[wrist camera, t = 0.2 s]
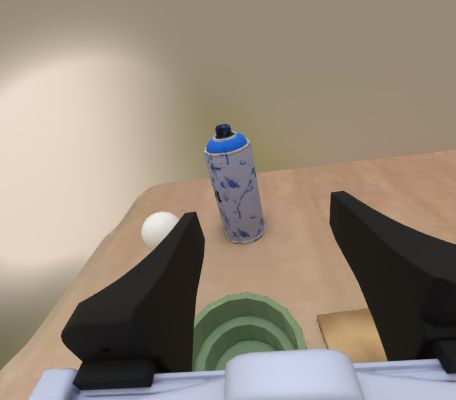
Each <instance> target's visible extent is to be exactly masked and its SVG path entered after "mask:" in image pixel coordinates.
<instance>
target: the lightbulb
mask: <svg viewBox="0 0 456 400" xmlns="http://www.w3.org/2000/svg"><path fill="white" fill-rule="evenodd" d="M179 220H180V219H179V218H178V217H177V216H175V215H174V214H172V213H169V212H157V213H154V214H152V215H151V216H149V217H148V218H147V219H146V220H145V222H144V223H143V225H142V229H141V238H142V241H143V243H144V245H145V246H146V247H147V248H148V249H149V250H151V251H153V250H154V249H155V248H156V247H157V246H158V245H159V243H160V242H161V241H162V240H163V239H164V238H165V237H166V236H167V235H168V233H169V232H170V231H171V230H172V229H173V227H174V226H175V225H176V224H177V222H178V221H179Z"/></svg>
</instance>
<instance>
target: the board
mask: <svg viewBox="0 0 456 400" xmlns="http://www.w3.org/2000/svg"><path fill="white" fill-rule="evenodd" d="M317 320H318V323H319V325H320V328H321V331H322V334H323V337H324V340H325V343H326V346H327V349H335V350H337V351H340V352H342V353H344V354H346V355H348V356H349V357H350V359H351V361H352V363H368V362H387V361H388V360H387V357H386V354H385V351H384V348H383V345H382V343H381V340H380V337H379V334H378V332H377V329H376V326H375V323H374V320H373V318H372V315H371V313H370V310H369V309H361V310H353V311H345V312H337V313H330V314H322V315H317Z"/></svg>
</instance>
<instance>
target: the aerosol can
mask: <svg viewBox="0 0 456 400" xmlns="http://www.w3.org/2000/svg"><path fill="white" fill-rule="evenodd" d="M215 131H216V135H215V136H214V137H213V138H212V139H211V140H210V141H209V142H208V145H207V147H206V148H205V151H204V153H205V160H206V164H207V167H208V170H209V174H210V178H211V182H212V185H213V189H214V193H215V196H216V200H217V204H218V207H219V211H220V215H221V218H222V222H223V226H224V229H225V236H226V238H227V239H228V240H229V241H230V242H232V243H236V244H248V243H252V242H254V241H257V240H258V239H259V238H261V237H262V236H263V234H264V233H265V229H266V227H265V223H264V221H263V215H262V209H261V202H260V196H259V190H258V184H257V178H256V172H255V166H254V160H253V153H252V147H251V144H250V142H249V139H247V138H245V137H244V136H243V135H242V134H240V133H236V132H234V131H231V128H230V126H229V125H227V124H221V125H218V126H217V127H216V130H215Z"/></svg>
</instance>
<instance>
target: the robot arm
mask: <svg viewBox="0 0 456 400" xmlns="http://www.w3.org/2000/svg"><path fill="white" fill-rule="evenodd" d="M330 226H331V229H332V232H333V234H334V237H335V240H336V242H337V243H338V245H339V247H340V249H341V251H342V253H343V255H344V256H345V258H346V260H347V262H348V264H349V266H350V267H351V269H352V271H353V273H354V275H355V277H356V279H357V281H358V283H359V285H360V288H361V290H362V293H363V295H364V297H365V300H366V302H367V305H368V308H369V310H370V313H371V315H372V318H373V320H374V323H375V326H376V329H377V332H378V334H379V337H380V340H381V343H382V345H383V348H384V351H385V354H386V357H387V360H388V361H387V362H368V363H352V361H351V359H350V357H349V356H348V355H346V354H344V353H342V352H340V351H337V350H335V349H321V348H319V349H303V350H287V351H271V352H254V353H247V354H242V355H237V356H236V357H234V358H233V359H231V360H229V361H228V362H227V363H226V370H217V371H198V372H192V361H193V335H194V319H195V306H196V296H197V289H198V284H199V279H200V274H201V269H202V263H203V258H204V246H205V238H204V235H203V232H202V229H201V226H200V223H199V220H198V217H197V214H196V212H189V213H185V214H184V215H183V216H182V218H181V219H180V220H179V221H178V222H177V224H176V225H175V226H174V227H173V229H172V230H171V231H170V232H169V233H168V235H167V236H166V237H165V238H164V239H163V240H162V241H161V242H160V243H159V245H158V246H157V247H156V248H155V249H154V250H153V251H152V252H151V253H150V254H149V255H148V256H147V257H146V258H144V259H143V260H142V261H141V262H140V263H139V264H138V265H136V266H135V267H134V268H132V269H131V270H130V271H129V272H127V273H126V274H125V275H124V276H122V277H121V278H119V279H118V280H117V281H115V282H114V283H112V284H111V285H109V286H108V287H106V288H104V289H103V290H101V291H100V292H98V293H96V294H94V295H93V296H91V297H89V298H88V299H86V300H84V301H82V302H80V303H79V304H78V306H77V307H76V309H75V311H74V312H73V314H72V316H71V317H70V319H69V321H68V322H67V324H66V326H65V327H64V329H63V331H62V333H61V338H62V341H63V343H64V344H65V346H66V347H67V348H68V349H69V350H70V351H72V352H73V353H74V354H75V355H76V356H77V357H78V358H79V359H80V360H81V361H83V362H82V364H81V366H80V368H79V370H76V369H72V368H64V369H48V370H45V371H44V373H43V374H42V376H41V378H40V380H39V381H38V383H37V385H36V387H35V388H34V390H33V392H32V393H31V395H30V397H29V399H28V400H456V244H452V243H449V242H446V241H443V240H440V239H438V238H435V237H432V236H429V235H427V234H424V233H421V232H419V231H417V230H414V229H412V228H410V227H407V226H405V225H403V224H401V223H399V222H396V221H394V220H393V219H391V218H389V217H387V216H385V215H383V214H381V213H379V212H378V211H376V210H374V209H372V208H371V207H369V206H367V205H366V204H364V203H362V202H361V201H359V200H358V199H356V198H354V197H353V196H351V195H350V194H348V193H346V192H345V191H339V192H332V193H331V203H330Z"/></svg>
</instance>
